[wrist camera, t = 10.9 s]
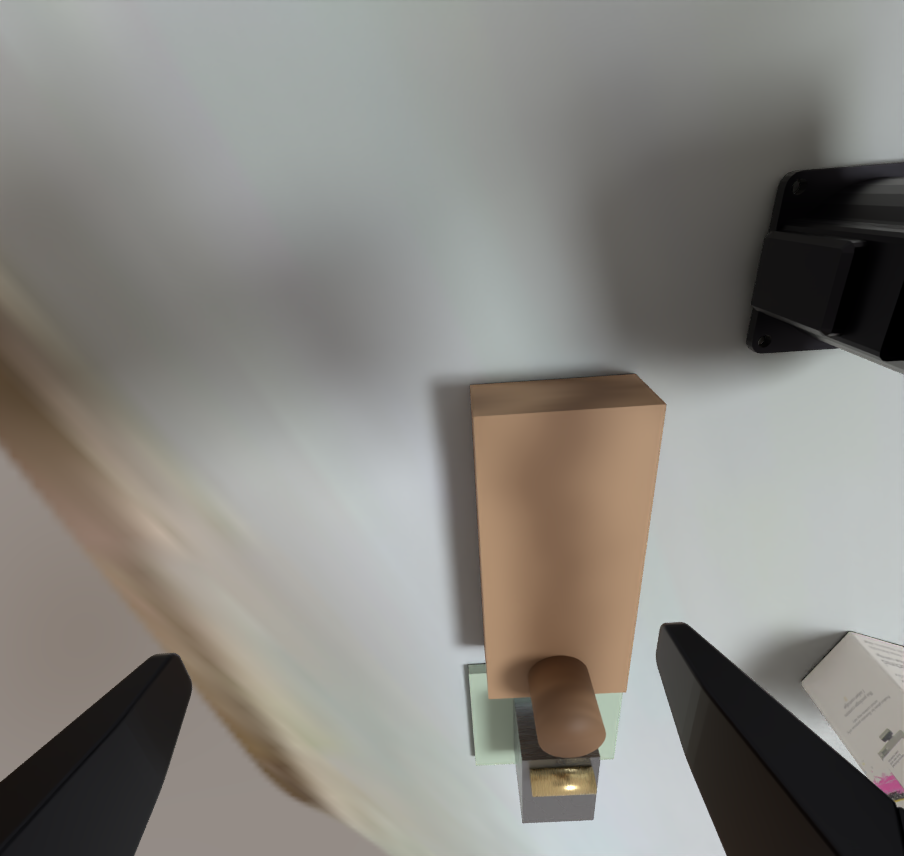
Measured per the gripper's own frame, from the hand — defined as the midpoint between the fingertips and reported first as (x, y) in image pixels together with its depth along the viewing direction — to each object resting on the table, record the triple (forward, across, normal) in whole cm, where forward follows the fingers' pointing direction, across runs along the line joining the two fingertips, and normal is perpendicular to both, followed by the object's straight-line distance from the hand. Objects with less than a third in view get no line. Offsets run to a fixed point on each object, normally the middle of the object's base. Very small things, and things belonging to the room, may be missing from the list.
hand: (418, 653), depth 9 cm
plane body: (+13, -5, +8) cm, 16 cm away
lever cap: (+12, -5, +22) cm, 26 cm away
